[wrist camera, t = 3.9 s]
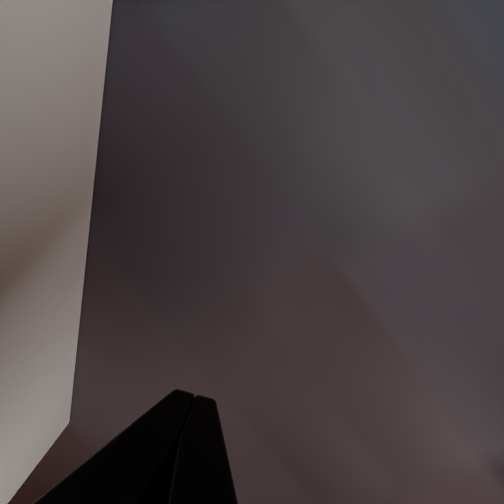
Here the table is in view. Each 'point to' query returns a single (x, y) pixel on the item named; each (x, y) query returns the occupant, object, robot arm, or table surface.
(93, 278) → the table surface
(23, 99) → the white block with cutout
